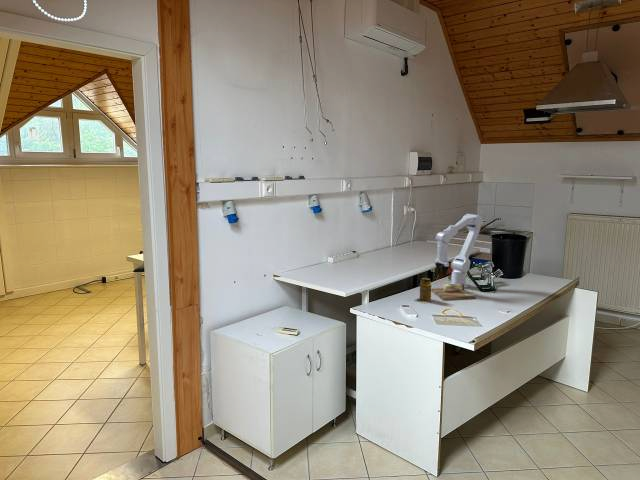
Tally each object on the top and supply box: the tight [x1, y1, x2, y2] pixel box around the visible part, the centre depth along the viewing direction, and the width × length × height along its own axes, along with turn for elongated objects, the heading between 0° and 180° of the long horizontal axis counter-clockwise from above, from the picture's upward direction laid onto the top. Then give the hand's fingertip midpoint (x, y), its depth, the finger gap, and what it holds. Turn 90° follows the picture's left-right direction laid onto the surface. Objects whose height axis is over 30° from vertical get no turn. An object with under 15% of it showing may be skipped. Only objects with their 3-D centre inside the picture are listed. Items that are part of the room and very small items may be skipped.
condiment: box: [414, 277, 434, 304], centre depth 258 cm, size 7×8×12 cm
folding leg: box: [442, 283, 465, 291], centre depth 271 cm, size 12×4×3 cm, turn 97°
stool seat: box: [431, 287, 476, 301], centre depth 268 cm, size 18×18×2 cm
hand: (441, 276), depth 277 cm, fingers open, 5 cm apart
